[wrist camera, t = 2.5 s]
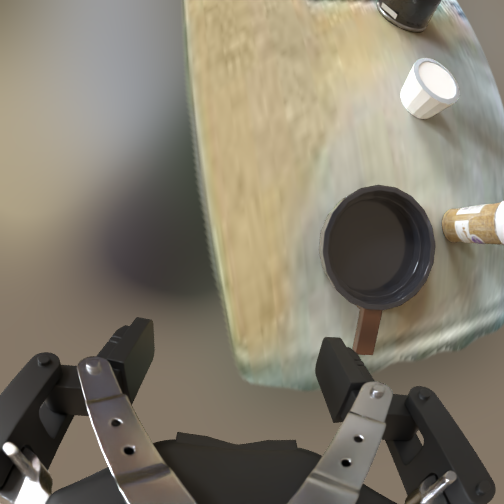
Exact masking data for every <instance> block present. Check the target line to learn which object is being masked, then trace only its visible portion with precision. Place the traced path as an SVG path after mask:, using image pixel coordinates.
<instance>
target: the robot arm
mask: <svg viewBox="0 0 504 504" xmlns="http://www.w3.org/2000/svg"><path fill="white" fill-rule="evenodd" d="M440 2H441V0H378V2H377V8H378V10H379V12H380V13H381V14H382V16H384V17H385V18H386V19H387V20H388V21H390V22H391V23H393V24H394V25H396V26H398V27H400V28H402V29H405V30H408V31H412V32H422V31H424V30H425V29H426V27H427V25H428V22H429V21H430V19H431V17H432V16H433V14H434V12H435V11H436V9H437V7H438V5H439V4H440ZM153 357H154V331H153V321H152V320H150V319H144V318H138V317H137V318H136V319H135V320H134V321H133V323H132V324H131V325H130V326H126V325H125V326H123V327H121V328H120V329H118V330H117V331H116V332H115V333H114V334H113V337H111V338H110V340H109V342H107V343H106V345H105V346H104V347H103V349H102V350H101V351H100V352H99V354H98V355H97V356H93V357H87V358H84V359H83V360H81V361H80V362H79V363H78V365H77V366H69V365H61V364H60V360H59V358H58V357H57V356H56V355H55V354H52V353H48V352H45V353H39V354H37V355H35V356H34V357H33V358H32V359H31V360H30V361H29V362H28V363H27V364H26V365H25V366H24V368H23V369H22V370H21V371H20V372H19V373H18V374H17V376H16V377H15V378H14V379H13V380H12V381H11V382H10V384H9V385H8V386H7V387H6V389H5V390H4V391H3V392H2V393H1V395H0V503H1V504H397V503H395V502H393V501H391V500H389V499H388V498H386V497H384V496H383V495H381V494H379V493H378V492H376V491H374V490H373V489H371V488H369V487H368V486H366V485H364V484H363V482H364V480H365V478H366V476H367V474H368V471H369V469H370V467H371V465H372V462H373V460H374V457H375V455H376V452H377V450H378V447H379V445H380V442H381V439H383V440H385V441H386V443H387V445H388V448H389V450H390V453H391V455H392V457H393V460H394V463H395V465H396V467H397V470H398V472H399V475H400V477H401V480H402V482H403V485H404V488H405V490H406V492H407V495H408V496H407V498H406V500H405V504H487V503H488V502H490V501H491V500H492V498H493V496H494V494H495V484H494V482H493V480H492V478H491V477H490V475H489V473H488V472H487V470H486V468H485V467H484V465H483V463H482V462H481V460H480V459H479V457H478V455H477V454H476V452H475V451H474V449H473V448H472V446H471V445H470V443H469V441H468V440H467V439H466V437H465V436H464V434H463V433H462V431H461V430H460V428H459V427H458V425H457V424H456V422H455V421H454V419H453V418H452V417H451V415H450V414H449V412H448V411H447V410H446V408H445V407H444V405H443V404H442V402H441V401H440V400H439V398H438V397H437V396H436V394H435V393H434V392H433V391H432V390H430V389H428V388H426V387H422V386H416V387H414V388H412V389H411V390H410V392H409V394H408V395H398V394H393V392H392V390H391V389H390V387H389V386H387V385H386V384H384V383H381V382H377V381H374V379H373V378H372V376H371V374H370V373H369V371H368V370H367V368H366V367H365V366H364V363H363V362H362V361H361V359H360V357H359V356H358V354H357V353H356V352H355V351H353V350H352V349H351V348H349V347H346V346H345V344H344V343H343V341H342V339H341V338H336V337H325V338H324V339H323V342H322V345H321V349H320V352H319V356H318V359H317V362H316V369H315V371H316V377H317V379H318V382H319V385H320V388H321V390H322V393H323V395H324V398H325V401H326V404H327V407H328V409H329V412H330V414H331V417H332V420H333V423H337V422H343V423H342V425H341V427H340V428H339V430H338V432H337V433H336V435H335V437H334V438H333V440H332V442H331V443H330V445H329V446H328V448H327V450H326V451H325V453H324V454H323V456H321V455H319V454H317V453H314V452H312V451H309V450H306V449H302V448H297V443H296V440H266V441H261V442H254V443H248V444H240V445H236V444H232V443H228V442H225V441H221V440H218V439H214V438H211V437H208V436H201V435H194V434H187V433H181V432H177V437H176V440H164V441H160V442H156V443H152V441H151V439H150V438H149V437H148V434H147V433H146V431H145V429H144V427H143V425H142V424H141V422H140V420H139V418H138V416H137V415H136V413H135V411H134V409H133V407H132V403H133V401H134V399H135V397H136V395H137V392H138V390H139V388H140V385H141V384H142V381H143V379H144V377H145V375H146V373H147V371H148V369H149V367H150V364H151V362H152V360H153ZM44 401H45V402H44ZM43 402H44V403H43ZM42 404H43V405H42ZM41 405H42V406H41ZM40 407H41V408H40ZM74 415H81V416H90V419H91V422H92V425H93V428H94V431H95V434H96V437H97V439H98V442H99V445H100V447H101V450H102V452H103V454H104V457H105V459H106V462H107V464H108V466H109V467H107V468H105V469H103V470H101V471H99V472H97V473H95V474H93V475H91V476H89V477H86V478H84V479H82V480H80V481H78V482H75V483H73V484H71V485H69V486H66V487H64V488H61V489H59V490H57V491H55V492H54V493H53V494H52V485H53V481H52V477H51V475H50V473H49V472H48V469H49V466H50V464H51V462H52V460H53V458H54V456H55V454H56V451H57V449H58V447H59V445H60V443H61V441H62V439H63V437H64V435H65V433H66V431H67V429H68V427H69V425H70V423H71V421H72V419H73V417H74ZM418 430H420V432H421V434H422V435H423V438H424V445H423V446H422V444H421V442H420V440H419V438H418V436H417V435H416V432H417V431H418Z"/></svg>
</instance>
